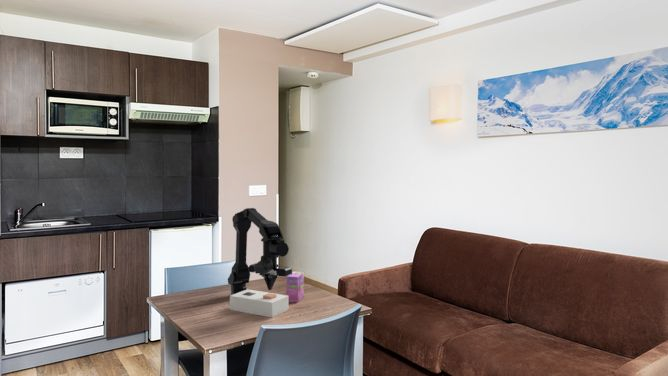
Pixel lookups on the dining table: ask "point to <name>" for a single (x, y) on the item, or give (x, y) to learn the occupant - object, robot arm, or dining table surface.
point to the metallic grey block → (248, 294)
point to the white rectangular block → (259, 303)
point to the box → (295, 286)
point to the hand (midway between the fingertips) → (269, 289)
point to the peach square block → (269, 296)
